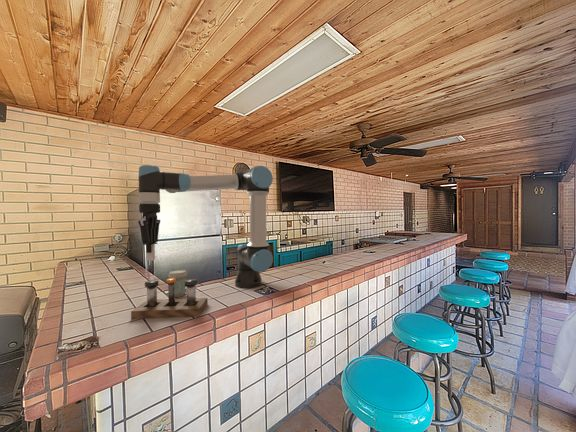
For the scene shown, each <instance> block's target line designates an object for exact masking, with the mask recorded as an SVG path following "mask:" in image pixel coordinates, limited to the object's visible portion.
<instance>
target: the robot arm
mask: <svg viewBox="0 0 576 432" xmlns="http://www.w3.org/2000/svg"><path fill="white" fill-rule="evenodd" d="M273 181H274V177H273V173H272V172H271V170H270V169H269V168H267V166H264V165H256V166H253V167H251V168H249V169H247V170H244V171H243V170H242V171H240V172H233V173H232V174H219V175H218V174H217V175H216V174H215V175H190V174H189V173H182V172H168V171H161V170H160V167H159V166H156V165H151V164H142V165H140V166H139V167H138V194H139V195H138V202H139V205H138V208H139V210H138V211H139V213H140V214H142V217H141V220H138V226H139V228H140V234H141V241H142V245H144V246H145V249H146V250H145V253H146V254H145V255H146V257H145V258H146V261H155V260H156V249H155V248H156V245H158V242H159V241H158V240H159V232H160V224H161V219H158V214H159V213H161V194H160V193H161V192H160V191H161V190H162V191H163V190H165V191H166V192H167V193H170V194H175V193H183V192H198V191H200V192H201V191H212V190H213V191H216V190H217V191H218V190H232V189H233V191H246V193H247V195H248V196H249V242H248V243H246V244H245V243H244V244H238V246H237V273H236V276H235V279H234V285H235V287H238V288H244V289H250V288H255V287H260V285H262V283H263V282H262V281H263V279H262V277H261V274H260V273H263V272H266V271H267V270H269V269H270V268H271V266H272V264H273V262H274V257H273V253H272V252H271V251H270V244H269V243H268V241H267V196H268V195H269V193H270V186H271V185H272V183H273ZM157 213H158V214H157Z"/></svg>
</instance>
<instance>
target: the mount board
mask: <svg viewBox="0 0 576 432" xmlns="http://www.w3.org/2000/svg"><path fill="white" fill-rule="evenodd" d="M208 305H209V304H208V297H196V303H195V304H193V305H187V298H175V304H174V305H169V298H168V299H167V298H163V299H162V298H161V299H160V298H159V299H158V298H157V305H155V306H147V300H145V301H144V302H142V303H141V304H140V305H138V306H137V307H135V308H133V309H132V310H131V311H130V317H131V318H130V319H131V320H132V319H134V320H135V319H164V318H183V317H185V318H188V317H193V318H194V317H200V316H201V314H202V313H203V311H204V310H205V309H206V308H207V306H208Z"/></svg>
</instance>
